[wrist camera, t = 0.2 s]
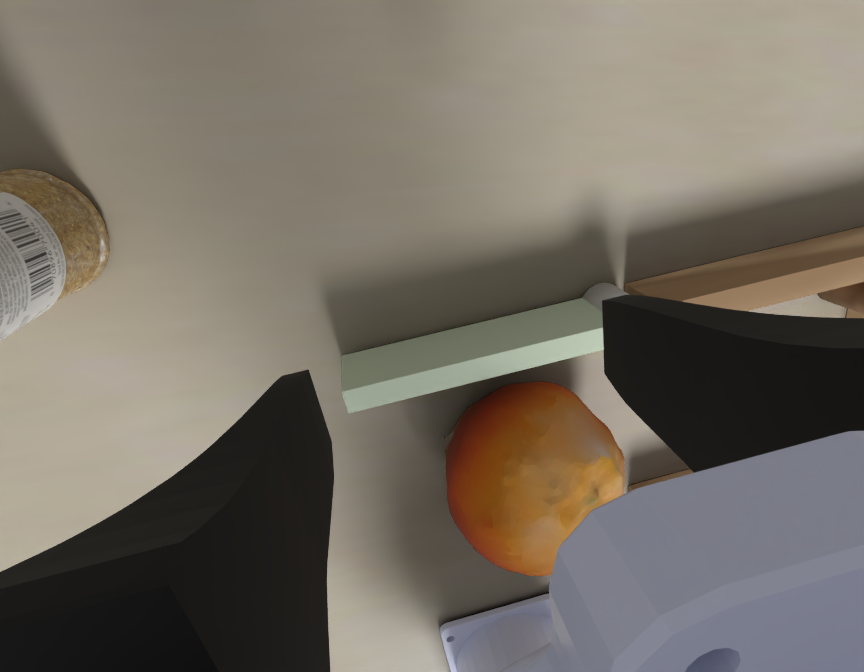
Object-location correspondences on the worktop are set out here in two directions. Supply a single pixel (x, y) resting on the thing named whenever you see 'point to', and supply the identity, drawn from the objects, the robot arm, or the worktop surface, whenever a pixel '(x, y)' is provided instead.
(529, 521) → the fruit
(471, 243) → the worktop surface
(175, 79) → the worktop surface
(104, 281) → the worktop surface
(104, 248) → the sprinkles bottle
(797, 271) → the cradle
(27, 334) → the worktop surface
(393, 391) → the gate
